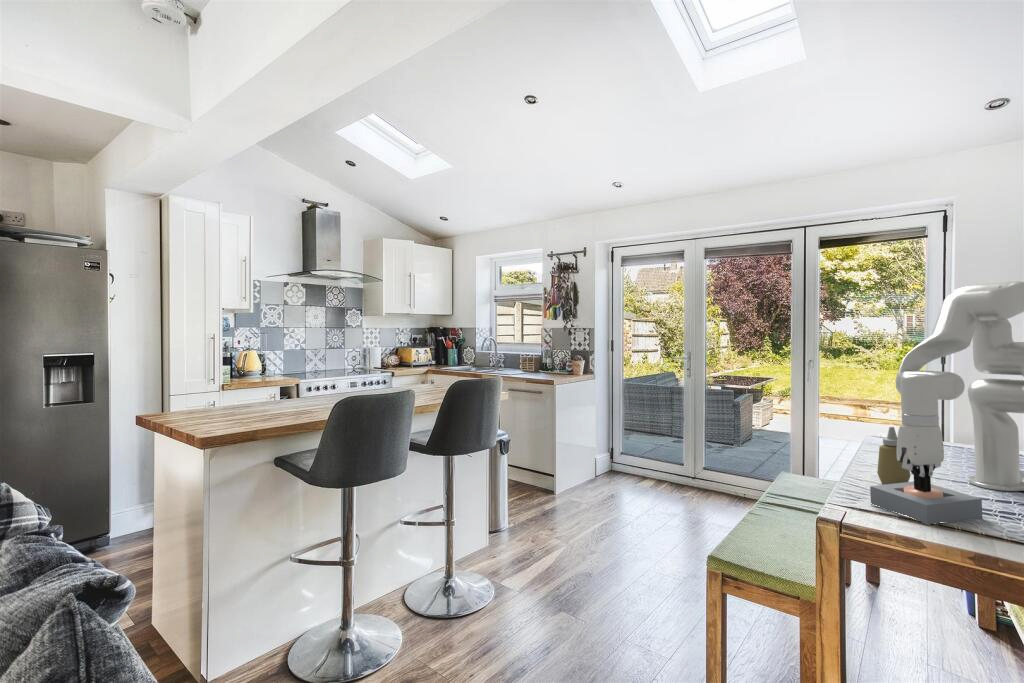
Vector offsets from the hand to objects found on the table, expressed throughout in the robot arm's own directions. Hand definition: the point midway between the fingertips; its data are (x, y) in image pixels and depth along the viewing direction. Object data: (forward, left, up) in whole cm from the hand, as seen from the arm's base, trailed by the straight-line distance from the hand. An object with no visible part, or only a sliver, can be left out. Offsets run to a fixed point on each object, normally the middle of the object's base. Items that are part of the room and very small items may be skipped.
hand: (922, 490), depth 131 cm
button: (0, 0, -5) cm, 5 cm away
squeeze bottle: (-11, -19, -6) cm, 23 cm away
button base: (0, 0, -6) cm, 6 cm away
